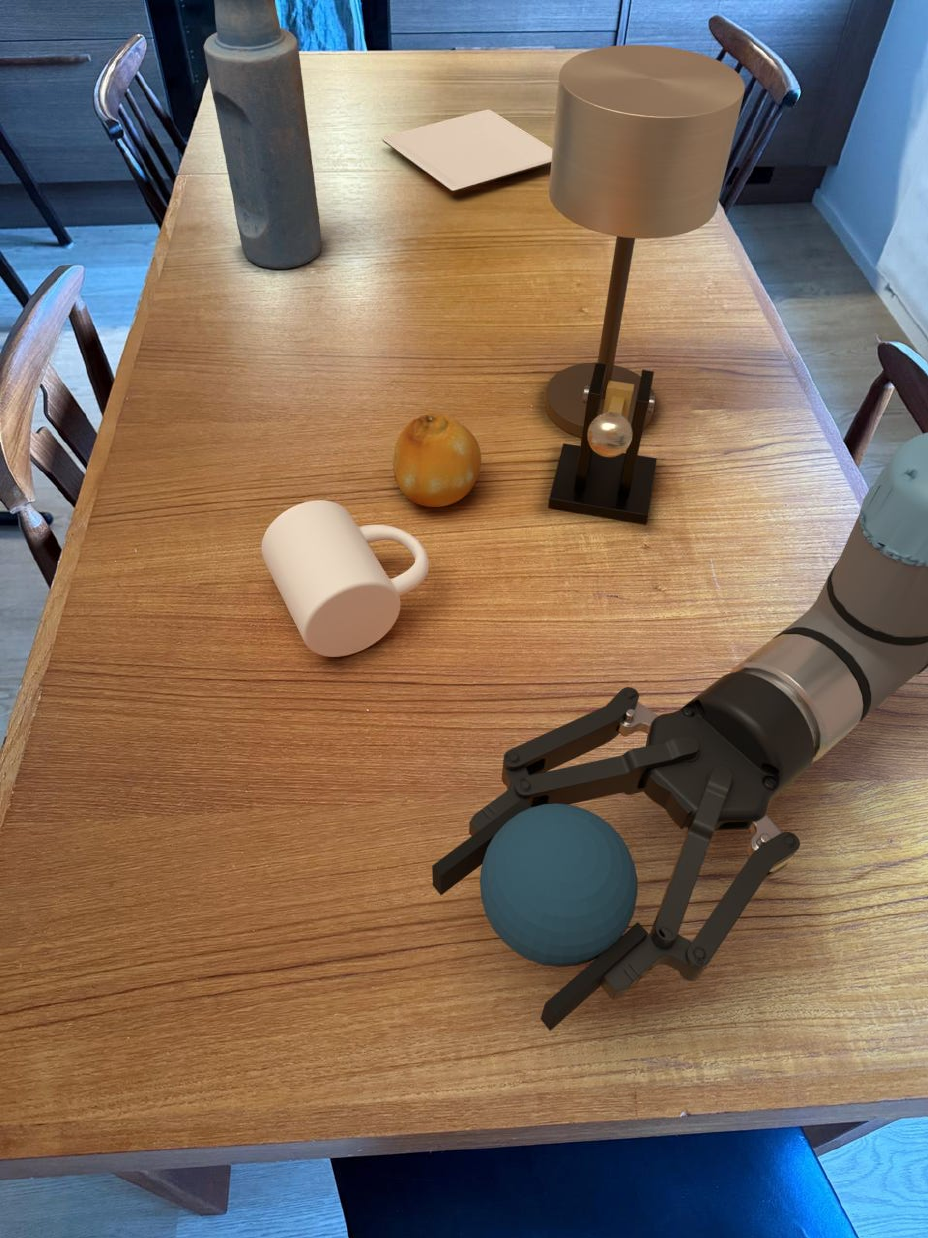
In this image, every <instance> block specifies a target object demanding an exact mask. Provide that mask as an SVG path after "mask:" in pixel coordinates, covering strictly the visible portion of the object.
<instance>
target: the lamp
mask: <svg viewBox="0 0 928 1238" xmlns="http://www.w3.org/2000/svg"><path fill="white" fill-rule="evenodd" d="M745 85H746V84H745V82H744V79H743V78H742V76H741V75H740V74H739V73H738V72H737V70H735V69H734V68H732V67H731V66H729V65H727V63H724V62H723V61H720V60H718V59H715V58H713V57H711V56H708V55H706V54H702V53H699V52H696V51H691V50H687V49H682V48H677V47H671V46H665V45H664V46H662V45H651V44H621V45H611V46H604V47H599V48H595V49H591V50H587V51H584V52H582V53H581V52H580V53H578V54H577V55H574V56H572V57H571V58H570V59H568V60H567V61H566V62H564V64H563V65H562V66H561V68H560V70H559V74H558V84H557V95H556V104H555V106H556V107H555V118H554V128H553V129H554V130H553V141H552V149H553V150H552V161H551V164H550V175H549V185H548V186H549V187H548V197H549V200H550V202H551V204H552V206H553V208H554V209H556V211H557V212H558V213H559V214H560V215H562V216H563V217H564V218H566V219H567V220H569V221H570V222H571V223H574V224H576V225H578V226H580V227H583V228H584V229H588V230H590V231H594V232H597V233H600V234H604V235H608V236H612V237H616V239H615V245H614V252H613V257H612V258H613V259H612V264H611V271H610V280H609V284H608V292H607V297H606V303H605V311H604V318H603V324H602V330H601V337H600V343H599V351H598V357H597V362H583V363H577V364H574V365H571V366H568V367H565V368H563V369H561V370H559V371H558V372H556V373H555V374H554V375H553V376H552V377H551V378H550V380H549V381H548V383H547V386H546V390H545V396H544V397H545V398H544V408H545V411H546V413H547V415H548V417H549V419H550V420H551V421H552V422H553V423H554V425H556V426H557V427H558V428H559V429H561V430H563V431H564V432H565V433H567V434H570V435H572V436H574V437H577V438H580V439H581V438H582V431H583V425H584V418H585V411H586V404H587V403H582V398H583V392H584V387H585V386H589V387H590V383H591V379H592V375H593V371H594V367H595V363H601V364H607V368H606V374H605V380H604V386H603V392H602V399H601V405H600V411H599V415H601V414H602V412H603V407H604V401H605V396H606V390H607V386H608V382H609V381H615V382H621V383H628V384H634V390H633V396H632V401H631V406H630V411H629V416H628V419H627V420H628V422H629V423H630V425H631V424H632V419H633V414H634V409H635V404H636V399H637V394H638V389H639V384H640V379H641V375H639V374H638V373H636V372H635V371H632V370H630V369H628V368H626V367H623V366H620V365H617V364H615V360H616V355H617V348H618V342H619V337H620V330H621V325H622V319H623V314H624V313H623V312H624V308H625V307H624V306H625V301H626V295H627V290H628V283H629V279H630V271H631V265H632V260H633V254H634V248H635V242H636V239H643V240H645V239H646V240H647V239H649V240H650V239H665V238H672V237H676V236H681V235H684V234H688V233H690V232H693V231H696V230H698V229H700V228H701V227H703V226H704V225H706V224H707V223H709V222H710V221H711V219H712V218H713V217H714V216H715V214H716V212H717V209H718V205H719V202H720V201H719V200H720V198H721V197H720V196H721V193H722V189H723V185H724V180H725V176H726V172H727V167H728V162H729V159H730V154H731V150H732V146H733V142H734V138H735V134H736V129H737V125H738V120H739V117H740V112H741V108H742V103H743V99H744V95H745V91H746V86H745ZM650 396H655V397H656V395H655V392H654V389H653V388H652V387H651V393H650ZM655 406H656V401H655V402H654V407H653V412H652V413H647V414H646V418H645V423H644V428H643V430H645V429H646V427H647V426H649V424H650V422H651V420H652V418H653V414H654V410H655Z"/></svg>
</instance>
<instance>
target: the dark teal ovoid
mask: <svg viewBox="0 0 928 1238" xmlns="http://www.w3.org/2000/svg"><path fill="white" fill-rule="evenodd" d="M638 882H639V881H638V874H637V870H636V865H635V862H634V859H633V857H632V855H631V851H630V850H629V846H628V845H627V844H626V842H625V841H624V839H623V838H622V836H621V835H620V833H619V832H618V831H617V830H616V829H615V828H614V827H613V826H612V824H610V823H609V822H607V820H605V819H604V818H603V817H601V816H599V815H598V814H595V813H594V812H592V811H590V810H588V809H586V808H583V807H580V806H576V805H573V804H569V805H566V804H544V805H540V806H536V807H532V808H529V809H527V810H525V811H523V812H521V813H519V814H517V815H516V816H515V817H513V818H512V819H510V820H509V821H508V822H507V823H506V824H505V825H504V826H503V827H502V828H501V829H500V830H499V831H498V832H497V833H496V834H495V836H494V837H493V839H492V841H491V843H490V844H489V846H488V848H487V851H486V854H485V857H484V860H483V863H482V865H480V876H479V888H480V898H481V903H482V906H483V909H484V913H485V916H486V918H487V920H488V922H489V924H490V926H491V928H492V930H493V931H494V932H495V934H496V935H497V936H498V937H499V939H500V940H501V941H502V942H503V944H505V945H506V946H508V947H509V948H510V949H511V950H512V951H513V952H515V953H516V954H518V955H519V956H521V957H522V958H524V959H526V960H528V961H530V962H533V963H536V964H539V965H541V966H547V967H554V968H565V967H576V966H579V965H583V964H587V963H591V962H593V961H594V960H595V959H596V958H597V957H599V956H600V955H601V954H602V953H603V952H604V951H605V950H607V949H608V948H609V947H610V946H611V945H613V944H614V943H615V942H616V941H617V940H618V939H619V938H620V937H621V936H622V935H624V934H625V933H626V932H627V931H628V928H629V926H630V924H631V921H632V920H633V917H634V914H635V910H636V905H637V901H638V900H637V899H638V892H639V889H638V888H639V887H638V885H639V883H638Z"/></svg>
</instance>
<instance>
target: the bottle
mask: <svg viewBox="0 0 928 1238" xmlns="http://www.w3.org/2000/svg"><path fill="white" fill-rule="evenodd" d="M274 1H275V0H213V3H214V17H215V18H214V19H215V29H216V32H214V33H213V34H211V35H210V36H208V37H207V38H206V40H205V41H204V44H203V51H204V59H205V63H206V68H207V75H208V79H209V85H210V90H211V95H212V100H213V103H214V107H215V108H214V109H215V112H216V113H215V114H216V119H217V123H218V128H219V134H220V139H221V143H222V149H223V154H224V159H225V166H226V170H227V175H228V181H229V186H230V190H231V195H232V201H233V208H234V214H235V215H234V216H235V219H236V226H237V229H238V234H239V240H240V243H241V245H240V246H241V250H242V253H243V255H244V256H245V258H246V259H247V260H248V261H250V262H251V263H252V264H254V265H255V266H257V267H262V268H266V269H273V270H287V269H291V268H297V267H300V266H303V265H306V264H307V263H309V262H312V261H313V260H314V259H315V258H317V256H319V254H320V253H321V251H322V245H323V241H322V233H321V223H320V213H319V206H318V197H317V189H316V181H315V172H314V164H313V156H312V149H311V140H310V134H309V125H308V116H307V110H306V100H305V92H304V91H305V90H304V81H303V73H302V67H301V66H302V65H301V58H300V51H299V44H298V39H297V37H296V36H295V35H294V34H293V33H292V32H291V31H289V30H287V29H285V28H282V27H281V25H280V19H279V16H278V12H277V7H276V4H275V2H274Z"/></svg>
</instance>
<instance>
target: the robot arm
mask: <svg viewBox="0 0 928 1238" xmlns="http://www.w3.org/2000/svg"><path fill="white" fill-rule="evenodd" d="M927 669H928V432H924V433H921V434H919V435H918V434H917V435H916V436H914V437H911V438H910V439H909V440H907V441H905V442H904V443H903V444H902V445H900V446H899V447H898V448H897V449H896V450H895V452H894V453H893V454H892V456H891V457H890V459H889V460H888V461H887V463H886V465H885V467H884V468H882V470H881V472H880V473H879V475H878V476H877V479H876V480H875V482H874V484H873V485H872V486H871V487H870V488H869V489H868V492H867V493H866V495H865V496H864V498H863V499H862V503H861V507H860V509H859V514H858V517H857V518H856V521H855V523H854V524H853V527H852V529H851V532H850V534H849V536H848V538H847V541H846V543H845V545H844V547H843V550H842V551H841V554H840V556H839V559H838V560H837V561H836V562H835V564H834V566H833V567H832V569H831V570H830V572H829V574H828V576H827V578H826V580H825V582H824V584H823V586H822V588H821V590H820V591H819V594H818V595H817V598H816V600H815V602H814V603H813V604H812V606H811V607H810V608H809V609H808V610H807V611H806V612H805V613H803V614H802V615H801V616H800V617H798V618H797V619H796V620H795V621H794V622H792V623H791V624H789V626H787V627H786V628H784V629H783V630H782V631H781V632H780V633H778V634H776V635H775V636H774V637H772V638H771V639H770V640H769V641H767V642H766V643H765V644H763V645H762V646H761V647H760V648H758V649H757V650H755V651H754V652H752V653H751V654H750V655H749V656H747V657H746V658H745V659H743V660H741V662H739V663H738V664H736V665H735V666H734V667H732V668H731V670H730V671H729V673H726V674H723V675H722V676H721V677H720V678H718V679H717V680H716V681H714V682H713V683H711V684H710V686H707V688H705V689H704V690H703V691H701V692H700V693H699V694H697V695H696V696H695V697H693V698H692V699H690V700H689V701H687V703H685V705H684V706H682V707H681V708H680V709H678V710H676V711H673V712H667V713H662V714H659V715H658V714H656V713H655V712H654V711H652V710H651V709H650V708H648V707H647V706H645V705H644V704H642V703H641V702H639V700H640V694H639V692H638V690H637V689H636V688H633V687H630V686H626V687H623V688H621V690H619V692H618V693H617V694H616V695H615V696H614V697H613V698H612V699H611V700H610V701H609V702H608V703H606V705H605V706H602V707H600V708H598V709H595V710H593V711H592V712H590V713H587V714H584V715H583V716H581V717H578V718H576V719H574V720H572V721H570V722H568V723H564V724H563V725H561V726H559V727H557V728H554V729H552V730H550V731H547V732H546V733H545V732H544V734H543V733H542V734H541V735H539V736H537V737H534V738H532V739H529V740H528V741H526V742H524V743H521V744H519V745H517V746H515V747H512V748H511V749H508V750H507V751H505V753H503V759H502V767H501V768H502V770H501V781H502V783H503V784H504V785H505V786H506V789H507V790H505V792H503V793H502V794H501V795H499V796H498V797H496V798H495V799H494V800H492V801H491V802H489V803H488V804H487V805H486V806H484V807H483V808H481V809H480V810H478V811H477V812H476V813H474V814H473V815H472V817H471V819H470V821H469V823H468V824H469V825H468V826H469V827H468V834H469V835H470V837H469V838H467V839H466V840H465V841H463V842H462V843H461V844H459V845H457V846H456V847H455V848H454V849H452V850H451V851H450V852H448V853H447V854H446V855H445V856H442V858H440V859H439V860H437V861H436V862H435V863H434V864H432V866H431V869H432V873H431V874H432V886H433V888H434V890H436V891H437V893H438V894H439V895H440V896H443V895H444V894H445V893H446V892H448V891H449V890H450V889H452V888H453V887H454V886H455V885H457V884H458V883H460V882H461V881H462V880H464V879H465V878H466V877H467V876H469V875H470V874H472V873H473V872H474V871H475V870H476V869H479V867H481V866H482V863H483V860H484V857H485V854H486V851H487V848H488V846H489V844H490V843H491V841H492V839H493V837H494V836H495V834H496V833H497V832H498V831H499V830H500V829H501V828H502V827H503V826H504V825H505V824H506V823H507V822H508V821H509V820H510V819H512V818H513V817H515V816H516V815H517V814H519V813H521V812H523V811H525V810H527V809H529V808H532V807H536V806H540V805H544V804H566V805H573V804H574V805H575V804H579V803H583V802H587V801H591V800H597V799H600V798H605V797H611V796H614V795H618V794H624V795H627V796H629V795H635V794H639V793H644V794H645V795H646V797H648V798H649V799H650V800H651V801H652V802H653V803H655V804H657V805H658V806H660V807H662V808H663V809H664V810H665V811H666V813H667V814H668V816H669V817H670V819H671V821H672V822H673V823H675V825H676V826H677V827H679V829H681V830H683V829H684V828H686V829H687V830H686V833H685V835H684V839H683V841H682V844H681V847H680V850H679V853H678V856H677V858H676V861H675V864H674V867H673V870H672V872H671V875H670V876H669V877H670V878H669V880H668V883H667V886H666V888H665V891H664V894H663V896H662V899H661V902H660V905H659V907H658V910H657V913H656V915H655V919H654V921H653V924H652V927H651V930H650V932H648V931H647V930H646V929H645V928H644V927H643V926H642V924H640V923H639V922H638V921H637V922H636V923H634V925H633V926H631V927H630V928H629V929H627V930H626V931H625V932H624V934H623V935H622V936H621V937H620V938H619V939H618V940H617V941H616V942H615V943H614V944H613V945H611V946H610V947H609V948H608V949H607V950H605V951H604V952H603V953H602V954H601V955H600V956H599V957H597V958H596V959H594V960H592V961H591V962H590V963H589V964H588V965H587V966H586V967H585V968H584V969H582V970H581V971H580V972H579V973H578V974H577V975H575V977H574V978H572V979H571V980H570V981H569V982H568V983H566V984H565V985H564V986H563V987H562V988H561V989H560V990H558V991H557V992H556V993H555V994H554V995H553V996H552V997H550V998H549V999H548V1000H547V1001H546V1002H545V1003H544V1005H543V1008H542V1011H541V1015H540V1020H541V1022H542V1023H543V1024H544V1026H545V1027H546V1028H547V1029H548V1031H549V1032H551V1031H552V1030H553V1029H554V1028H555V1027H557V1026H558V1025H559V1024H560V1023H562V1021H564V1020H565V1019H566V1018H567V1017H568V1016H569V1015H570V1014H571V1013H572V1012H574V1011H575V1010H576V1009H577V1008H579V1006H581V1004H583V1002H585V1001H586V1000H587V999H588V998H589V997H590V996H592V994H593V993H594V992H596V991H597V990H598V989H599V988H602V990H603V991H604V992H605V994H607V996H609V998H610V999H611V1000H612V1001H614V1000H617V999H619V998H622V997H624V996H625V995H626V994H627V993H628V992H629V991H630V990H631V989H632V988H634V986H636V984H638V983H639V982H640V981H641V980H642V979H643V978H644V977H646V975H648V974H649V973H650V972H651V971H652V970H653V969H654V968H656V967H657V966H667V967H670V968H671V969H673V970H675V971H677V972H678V974H679V976H680V977H681V978H682V979H684V980H685V981H689V982H693V981H696V980H698V979H699V978H700V976H701V975H702V974H703V972H704V970H705V969H706V967H707V966H708V965H709V964H710V962H711V960H712V959H713V957H714V956H715V954H717V951H718V950H719V948H720V947H721V945H722V944H723V942H724V941H725V939H726V938H727V936H728V935H729V933H730V931H732V929H733V927H734V925H736V923H737V921H738V919H739V918H740V917H741V915H742V914H743V912H744V910H745V909H746V908H747V906H748V904H749V903H750V901H751V900H752V899H753V897H754V895H756V893H757V891H758V890H759V888H760V887H761V885H762V883H763V882H765V881H766V880H768V879H769V878H770V877H773V876H774V875H776V874H777V873H779V872H781V871H782V870H784V869H785V868H786V867H787V865H788V864H789V862H790V861H791V860H792V859H793V857H794V856H795V855H796V853H797V852H798V850H799V849H800V847H801V840H800V839H799V837H798V836H797V835H796V834H795V833H794V832H791V831H781V830H780V828H778V826H777V825H776V824H775V822H773V820H772V818H770V817H769V815H767V813H768V811H769V806H770V803H771V802H772V801H774V799H776V798H777V797H778V796H779V795H780V794H782V792H783V791H784V790H786V789H787V788H788V787H789V786H790V785H791V784H793V783H794V782H795V781H796V780H797V779H798V778H800V777H801V776H802V775H803V774H804V773H805V772H807V770H808V769H809V768H810V767H811V766H812V764H813V763H815V762H817V761H819V760H820V759H821V758H822V757H824V755H826V754H827V753H828V752H829V751H830V750H832V749H833V747H835V746H836V745H837V744H838V743H839V742H840V741H842V740H843V739H844V738H845V737H846V736H847V735H848V734H849V733H850V732H852V731H853V729H854V728H856V727H857V726H858V725H859V724H860V723H861V722H862V721H863V720H864V719H865V718H867V716H868V715H870V714H871V713H872V712H873V711H875V710H876V709H877V708H878V707H879V706H880V705H881V704H882V703H884V702H885V701H886V700H887V699H888V698H890V697H891V696H892V695H893V694H894V693H896V692H897V691H898V690H899V689H901V688H902V687H903V686H904V685H905V684H906V683H908V682H909V681H910V680H911V679H913V678H914V677H915V676H916V675H920V674H922V673H923V672H924V671H925V670H927ZM637 732H643V733H645V734H646V741H645V746H641V747H636V748H631V749H629V750H627V751H626V752H625V753H622V755H617V756H613V757H608V758H603V759H599V760H594V761H590V762H585V763H580V764H576V765H571V766H566V767H562V768H557V767H560V766H562V765H564V764H566V763H568V762H570V761H572V760H575V759H576V758H579V757H581V756H583V755H586V754H587V753H590V752H591V751H594V750H595V749H598V748H600V747H602V746H604V745H606V744H608V743H610V742H611V741H612V740H614V739H615V738H617V737H618V736H619V735H620V736H622V737H623V738H624V737H629V736H630V735H633V734H634V733H637ZM555 768H557V769H555ZM746 830H749V831H750V833H751V836H752V837H751V838H750V841H749V842H748V843H747V846H746V851H747V854H748V856H749V858H748V859H747V861H746V862H745V864H744V865H743V867H742V868H741V869H740V871H739V872H738V874H737V876H736V877H735V878H734V880H733V881H732V882H731V884H730V886H729V887H728V889H727V890H726V891H725V893H724V894H723V896H722V897H721V899H720V900H719V901H718V903H717V905H716V906H715V907H714V909H713V910H712V912H711V914H710V915H709V916H708V918H707V919H706V921H705V922H704V924H703V925H702V927H701V928H700V930H699V931H698V933H697V934H696V936H695V937H694V939H693V940H692V941H691V940H689V939H688V938H686V937H684V936H682V935H680V934H679V932H680V929H681V926H682V923H683V921H684V917H685V915H686V912H687V910H688V906H689V903H690V900H691V898H692V894H693V891H694V889H695V886H696V883H697V881H698V877H699V874H700V872H701V868H702V865H703V862H704V860H705V858H706V854H707V851H708V850H709V849H708V848H709V845H710V843H711V840H712V839H713V835H714V832H721V831H722V832H724V831H746Z"/></svg>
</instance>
